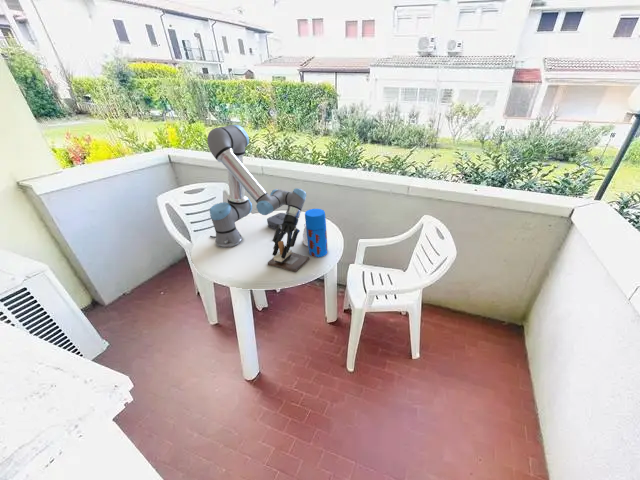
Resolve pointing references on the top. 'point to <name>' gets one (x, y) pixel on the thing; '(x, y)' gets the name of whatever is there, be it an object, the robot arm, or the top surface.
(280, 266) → the walnut board
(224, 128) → the robot arm
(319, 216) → the thermos
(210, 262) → the top surface
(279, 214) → the streaming box
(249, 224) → the top surface
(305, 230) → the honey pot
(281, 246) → the scrub brush
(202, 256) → the top surface
